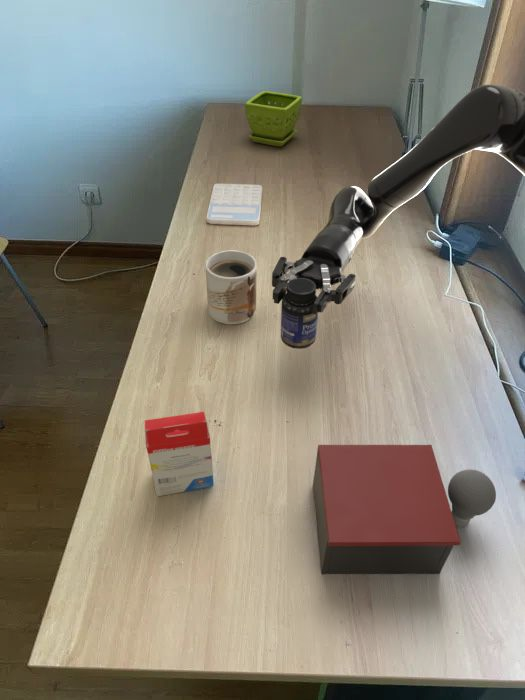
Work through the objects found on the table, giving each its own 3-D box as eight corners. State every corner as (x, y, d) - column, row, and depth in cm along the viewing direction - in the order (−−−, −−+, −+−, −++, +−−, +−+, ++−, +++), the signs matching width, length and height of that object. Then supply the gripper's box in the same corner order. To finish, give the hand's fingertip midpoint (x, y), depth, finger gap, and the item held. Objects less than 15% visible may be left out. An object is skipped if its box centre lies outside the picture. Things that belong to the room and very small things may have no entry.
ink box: (209, 461, 86) (204, 395, 76) (214, 488, 83) (209, 422, 73) (153, 470, 85) (141, 404, 75) (155, 498, 81) (143, 432, 71)
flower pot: (300, 136, 184) (303, 95, 175) (284, 152, 174) (286, 109, 166) (261, 129, 188) (262, 88, 179) (243, 143, 178) (243, 102, 170)
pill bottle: (305, 354, 94) (309, 301, 87) (273, 342, 96) (275, 290, 89) (321, 334, 98) (326, 281, 91) (290, 322, 100) (293, 271, 93)
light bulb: (478, 506, 81) (499, 464, 74) (481, 544, 77) (504, 502, 70) (436, 498, 82) (452, 456, 75) (437, 535, 78) (455, 493, 71)
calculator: (262, 190, 154) (262, 183, 153) (259, 226, 139) (259, 219, 138) (214, 188, 155) (213, 181, 153) (205, 224, 140) (205, 217, 138)
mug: (198, 301, 116) (195, 255, 109) (249, 285, 121) (249, 240, 113) (221, 330, 109) (219, 283, 102) (274, 312, 114) (276, 266, 107)
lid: (458, 545, 67) (460, 542, 66) (328, 546, 67) (329, 542, 66) (430, 448, 78) (431, 444, 77) (317, 448, 77) (318, 444, 77)
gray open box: (440, 573, 74) (456, 539, 68) (321, 574, 73) (327, 539, 67) (417, 485, 84) (430, 448, 78) (312, 485, 83) (317, 448, 77)
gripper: (293, 225, 100) (254, 274, 89) (371, 243, 96) (340, 296, 85) (291, 261, 105) (254, 311, 94) (365, 279, 101) (336, 334, 90)
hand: (295, 304), depth 89 cm, fingers closed on pill bottle, 6 cm apart
